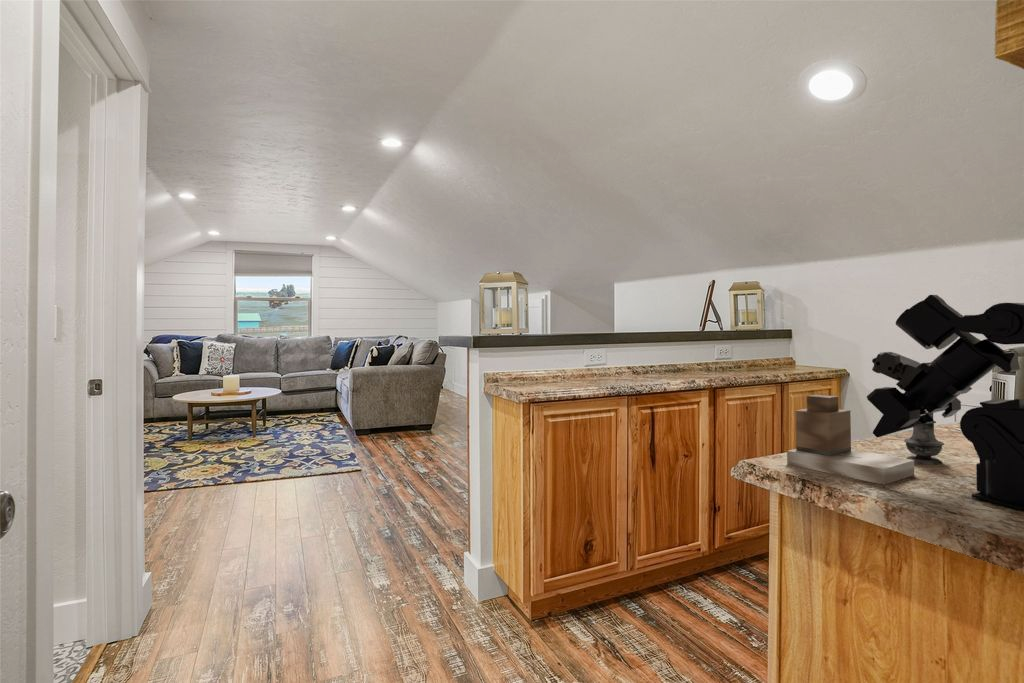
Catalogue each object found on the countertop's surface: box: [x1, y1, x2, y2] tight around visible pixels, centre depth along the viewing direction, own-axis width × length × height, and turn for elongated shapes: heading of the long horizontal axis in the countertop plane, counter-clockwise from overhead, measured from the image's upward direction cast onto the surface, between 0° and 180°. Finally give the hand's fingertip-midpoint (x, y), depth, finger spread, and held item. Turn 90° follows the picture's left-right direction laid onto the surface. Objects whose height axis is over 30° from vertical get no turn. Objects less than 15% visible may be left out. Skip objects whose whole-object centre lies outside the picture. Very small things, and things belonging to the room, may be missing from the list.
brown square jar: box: [794, 394, 852, 456], centre depth 96 cm, size 6×7×10 cm
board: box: [786, 448, 915, 486], centre depth 92 cm, size 16×10×2 cm, turn 30°
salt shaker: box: [903, 412, 945, 466], centre depth 97 cm, size 6×6×12 cm
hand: (875, 434), depth 88 cm, fingers closed
